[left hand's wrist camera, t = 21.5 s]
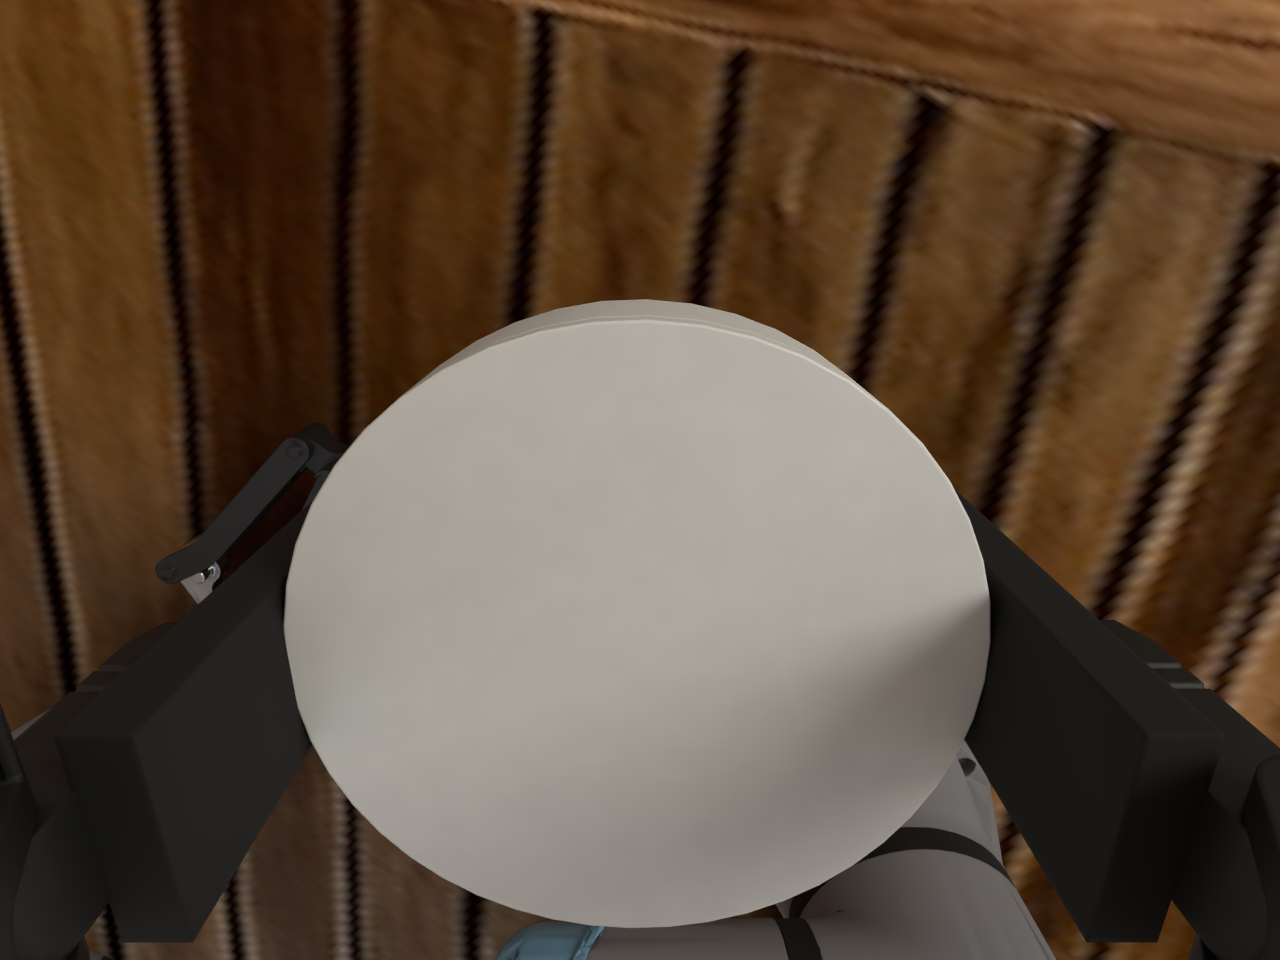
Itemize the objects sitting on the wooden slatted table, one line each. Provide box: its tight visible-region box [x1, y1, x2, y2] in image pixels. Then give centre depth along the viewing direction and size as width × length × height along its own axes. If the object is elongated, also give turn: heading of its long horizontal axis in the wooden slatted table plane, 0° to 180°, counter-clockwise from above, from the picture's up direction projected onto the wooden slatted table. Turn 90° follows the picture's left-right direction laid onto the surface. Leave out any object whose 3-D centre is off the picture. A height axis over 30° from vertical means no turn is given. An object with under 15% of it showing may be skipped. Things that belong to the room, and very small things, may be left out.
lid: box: [283, 299, 991, 928], centre depth 11 cm, size 10×10×2 cm
